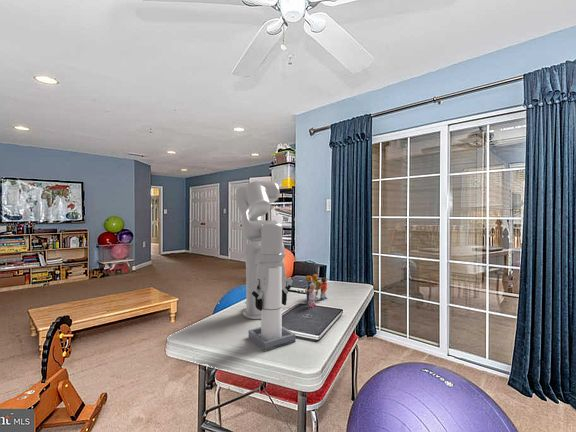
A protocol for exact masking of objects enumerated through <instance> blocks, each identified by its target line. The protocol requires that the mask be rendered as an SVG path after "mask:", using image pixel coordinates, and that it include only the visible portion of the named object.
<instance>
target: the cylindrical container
mask: <svg viewBox="0 0 576 432" xmlns="http://www.w3.org/2000/svg"><path fill="white" fill-rule="evenodd" d="M261 299H262V310H261V319H260V327H261V338H262V339H264V340H265V341H269V340H273V339H276V338H280V337H282V326H283V325H282V322H283V317H282V316H283V313H282V311H283V309H282V308H283V307H282V306H283V304H282V267H275V268H269V281H268V289H267V292H266V293H264V294H263V295H262V297H261Z"/></svg>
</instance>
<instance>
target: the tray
mask: <svg viewBox="0 0 576 432" xmlns="http://www.w3.org/2000/svg"><path fill="white" fill-rule="evenodd" d="M248 338H249V339H250V340H251V341H252V342H254V343H255V344H256V345H257V346H258V347H259V348H261V349H262V350H263V351H264V352H267V351H270V350H273V349H276V348H279V347H283V346H285V345H289V344H292V343H293V344H294V343H296V334H295V333H294V332H292V331H291V330H289V329H288V328H287V327H285V326H283V325H282V337H280V338H276V339H273V340H269V341H265V340H264V339H262V338H261V326H260V327H256V328H252V329H248Z"/></svg>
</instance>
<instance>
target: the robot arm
mask: <svg viewBox="0 0 576 432" xmlns="http://www.w3.org/2000/svg"><path fill="white" fill-rule="evenodd" d="M280 193H281V192H280V188H279V185H278V183H277V182H275V181H271V180H270V181H267V180H255V181H249V183H248V184H247V185H241V186H239V187H238V188H236V191H235V202H236V205H237V207H238V210H239V212H240V214H241V229H242V233H243V237H244V239H245V240H246V241H248V242H247V243H246V244H245V245H244V248H243V255H244V260H245V261H244V262H245V279H246V281H245V287H246V289H245V290H246V291H245V294H246V295H245V296H246V297H245V298H246V299H245V300H246V301H245V302H244V303H245V306H246V307H245V309H244V310H243V311H242V316H243V317H244V318H246V319H248V320H249V319H250V320H261V310H262V299H261V297H262V295H263V294H264V293H266V292H267V289H268V281H269V268H275V267H282V306H286V305H287V301H288V293H289V291H290V289H291V288H292V285H293V282H294V280H293V278H292V279H291V278H290V277H287V275H286V274H287V273H286V266H285V263H284V259H285V257H286V248H285V245H284V244H285V243H284V238H283V225H282V223H280V222H279V221H277V220H263V219H262V216H265V215H266V214H267V213H269V212H270V209H271V204H272V203H274V202H276V201H278V200H279V197H280Z"/></svg>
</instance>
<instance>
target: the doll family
mask: <svg viewBox="0 0 576 432" xmlns="http://www.w3.org/2000/svg"><path fill="white" fill-rule="evenodd" d="M304 281H306V285H305V287H304V294H306V305H308V308H309V307H312V308H311V309H314V308H315V307H317V304H316V301H317V300H318V299H319V300H321V301H325V300H328V296H327V295H326V292H327V289H328V279H327V277H326V276H324V277H322V278H321V280H319V277H318V274H317V273H314V274H313V275H306V276H305V280H304ZM319 290H320V296H319V298H318V295H319ZM314 306H315V307H314ZM313 307H314V308H313Z"/></svg>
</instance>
